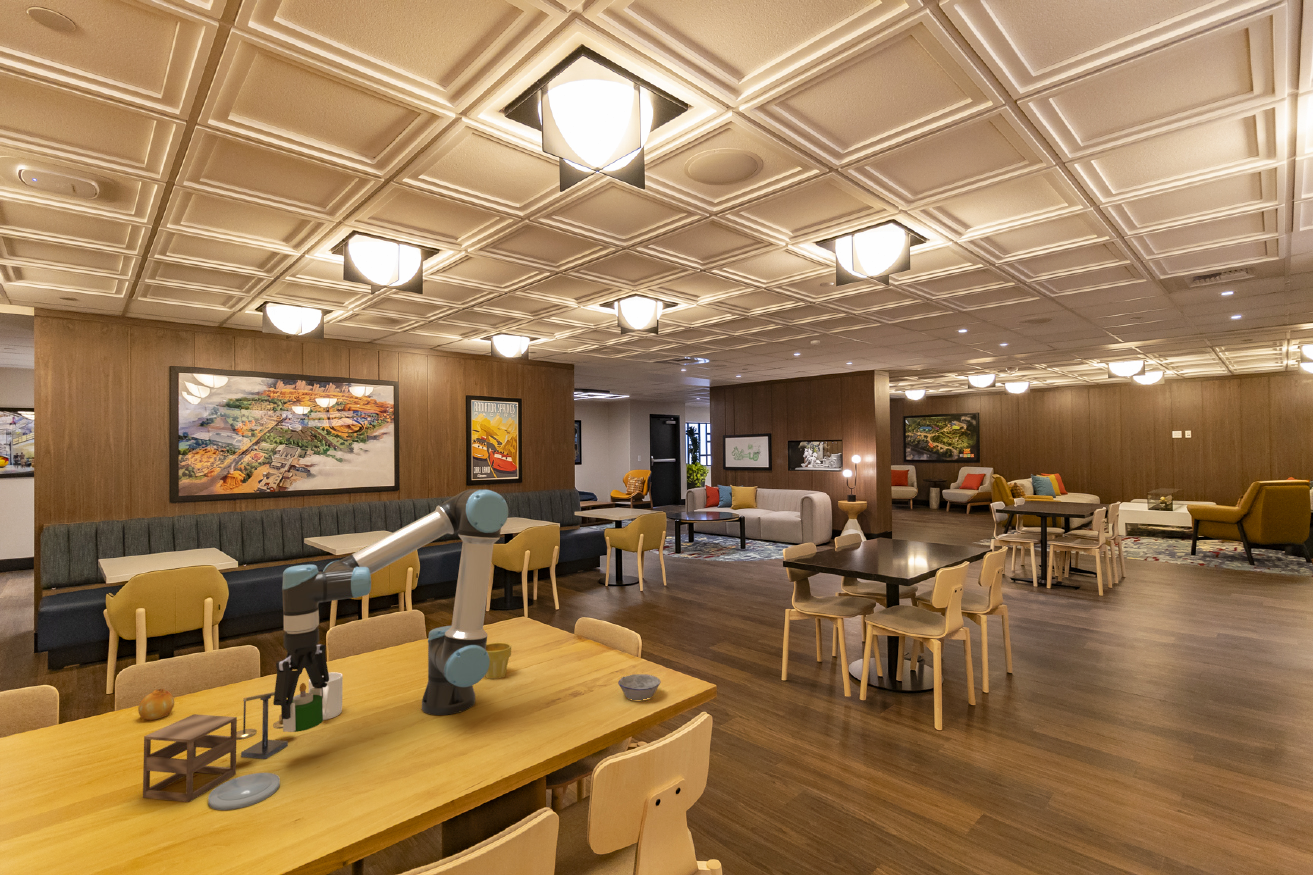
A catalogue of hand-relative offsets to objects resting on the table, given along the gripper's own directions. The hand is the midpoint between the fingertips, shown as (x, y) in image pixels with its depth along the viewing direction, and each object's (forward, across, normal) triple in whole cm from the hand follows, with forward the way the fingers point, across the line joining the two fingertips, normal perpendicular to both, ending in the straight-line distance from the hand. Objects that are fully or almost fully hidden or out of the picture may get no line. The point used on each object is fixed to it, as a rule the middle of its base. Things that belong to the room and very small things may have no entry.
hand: (303, 722), depth 149 cm
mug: (+9, -23, -13) cm, 28 cm away
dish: (+9, +16, -2) cm, 18 cm away
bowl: (+12, -51, +73) cm, 90 cm away
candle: (+1, 0, 0) cm, 1 cm away
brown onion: (+8, -16, -62) cm, 64 cm away
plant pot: (+11, -62, +21) cm, 67 cm away
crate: (+8, +15, -17) cm, 24 cm away
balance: (+9, -2, -13) cm, 16 cm away
